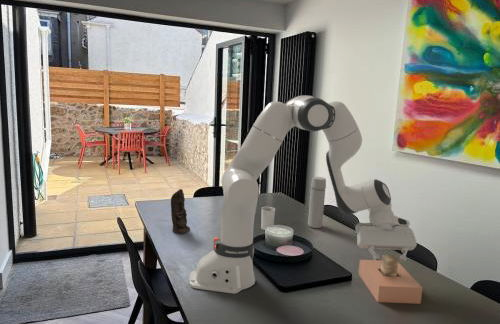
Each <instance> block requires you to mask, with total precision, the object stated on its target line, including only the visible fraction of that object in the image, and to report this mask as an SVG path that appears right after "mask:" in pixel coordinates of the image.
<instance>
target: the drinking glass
mask: <svg viewBox="0 0 500 324" xmlns="http://www.w3.org/2000/svg"><path fill="white" fill-rule="evenodd" d="M275 212H276V208H275V207H271V206H263V207H261V214H260V215H261V226H260V228H261V230H264V231H266V230H265V228H266V227H268V226H273V227H274V225H275V224H274V223H275V214H276V213H275Z"/></svg>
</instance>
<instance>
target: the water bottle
mask: <svg viewBox="0 0 500 324" xmlns="http://www.w3.org/2000/svg"><path fill="white" fill-rule="evenodd" d="M326 189H327V179H326V177H321V176H313V177H312V179H311V185H310V195H309V196H310V197H309V205H308V207H309V208H308V219H307V220H308V221H307V225H308V226H309V227H310V228H313V229H320V228H322V227H323V222H324V221H323V220H324V209H325V208H324V207H325V198H326Z"/></svg>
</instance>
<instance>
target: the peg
mask: <svg viewBox="0 0 500 324" xmlns="http://www.w3.org/2000/svg"><path fill="white" fill-rule="evenodd" d="M381 261H382V263H381V272H380V273H381V274H382V275H383V276H387V277H397V269H398V263H399V261H400V259H398V257H396V256H395V255H390V254H382V257H381Z"/></svg>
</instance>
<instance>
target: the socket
mask: <svg viewBox="0 0 500 324" xmlns="http://www.w3.org/2000/svg"><path fill="white" fill-rule="evenodd" d="M381 263H382V260H380V259H379V260H373V259H359V265H358V272H357V273H358V275H359V277H360V278H361V281H363V283H364V284H365V286H366V287H367V289H368V290H369V291H370V293H371V295H372V297H374V299H375V300H376V302H377V303H389V304H390V303H393V304H419V305H420V304H421V303H422V295H423V286H421V284H420V283H419V282H418V281H417V280H416V279H414V277H413V276H412V275H411V274H410V273H409V272H408V271H407V269H406V268H404V267H403V265H402V264H401V263H399V262H398V269H397V277H387V276H383V275H382V274H381V273H380V272H381ZM421 305H422V304H421Z"/></svg>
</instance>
